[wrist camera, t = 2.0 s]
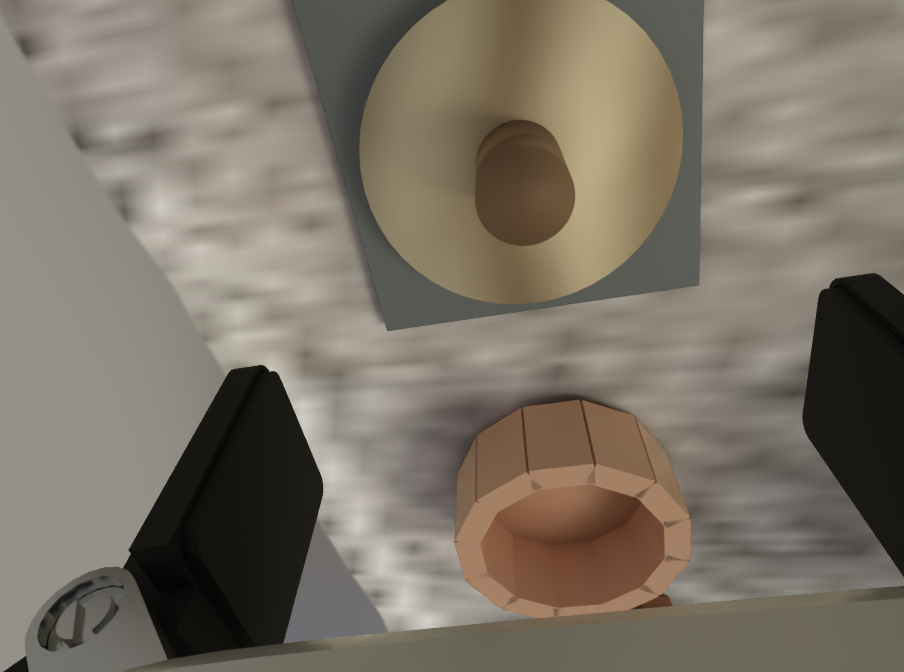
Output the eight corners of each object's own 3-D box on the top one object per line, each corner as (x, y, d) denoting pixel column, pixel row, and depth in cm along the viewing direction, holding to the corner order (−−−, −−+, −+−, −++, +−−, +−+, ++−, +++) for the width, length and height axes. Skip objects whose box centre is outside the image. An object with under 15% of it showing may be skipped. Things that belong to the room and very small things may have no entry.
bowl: (662, 382, 30) (691, 452, 26) (665, 533, 36) (689, 611, 32) (443, 410, 32) (437, 481, 28) (478, 551, 38) (478, 628, 33)
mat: (699, -100, 20) (705, -101, 20) (694, 279, 27) (699, 285, 27) (294, -8, 22) (290, -7, 22) (389, 324, 29) (387, 331, 29)
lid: (673, -58, 20) (725, -61, 16) (675, 268, 27) (714, 330, 22) (326, 18, 22) (287, 34, 18) (403, 309, 28) (389, 375, 24)
